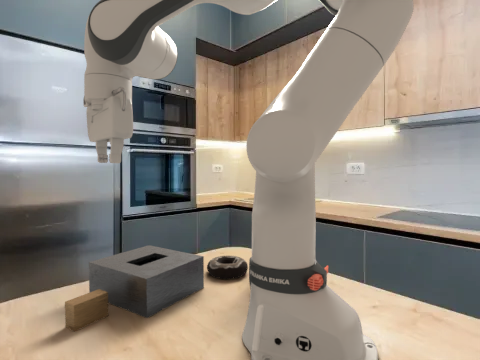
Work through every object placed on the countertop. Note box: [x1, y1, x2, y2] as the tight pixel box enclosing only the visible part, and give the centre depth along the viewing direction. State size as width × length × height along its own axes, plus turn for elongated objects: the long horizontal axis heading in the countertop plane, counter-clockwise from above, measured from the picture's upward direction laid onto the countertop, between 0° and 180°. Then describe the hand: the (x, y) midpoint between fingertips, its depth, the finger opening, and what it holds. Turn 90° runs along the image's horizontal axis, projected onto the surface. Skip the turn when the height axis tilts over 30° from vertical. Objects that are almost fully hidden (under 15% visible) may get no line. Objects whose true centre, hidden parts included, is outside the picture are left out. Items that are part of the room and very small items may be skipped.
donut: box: [206, 255, 249, 280], centre depth 86 cm, size 12×12×4 cm
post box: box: [88, 244, 205, 319], centre depth 73 cm, size 20×18×8 cm
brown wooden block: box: [64, 289, 109, 332], centre depth 59 cm, size 3×7×5 cm, turn 148°
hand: (108, 163), depth 61 cm, fingers open, 8 cm apart
